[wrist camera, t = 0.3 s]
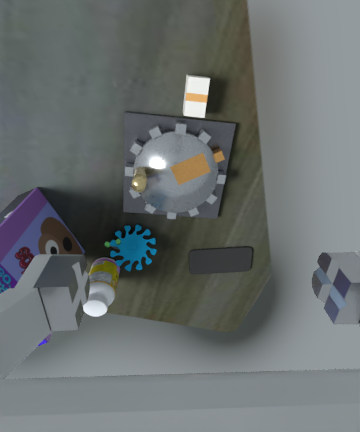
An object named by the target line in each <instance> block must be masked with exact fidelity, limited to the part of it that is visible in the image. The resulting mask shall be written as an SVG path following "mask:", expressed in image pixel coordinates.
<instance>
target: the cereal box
mask: <svg viewBox="0 0 360 432" xmlns="http://www.w3.org/2000/svg"><path fill="white" fill-rule="evenodd" d="M84 252H85V250H84V248H83V247H82V246H81V244H80V243H79V242H78V240H77V239H76V237H75V236H74V235H73V233H72V232H71V231H70V229H69V228H68V227H67V225H66V224H65V223H64V221H63V220H62V219H61V217H60V216H59V215H58V213H57V212H56V211H55V209H54V208H53V207H52V205H51V204H50V202H49V201H48V200H47V198H46V197H45V196H44V194H43V193H42V192H41V190H40V189H39V188H38V187H37V188H35V189H32V190H30V191H28V192H26V193H23V194H21V195H19V196H17V197H16V198H15V199H14V200H13V201H12V202H11V203H10V204H9V205H8V206H7V207H6V208H5V209H4V210H3V211H2V212H1V213H0V294H1V293H2V292H4V291H6V290H7V289H9V288H15V286H16V285H17V283H18V281H19V280H20V278H21V277H22V275H23V274H24V272H25V271H26V269H27V268H28V266H29V265H30V263H31V261H32V260H33V258H34V257H35V256H36V255H38V254H52V255H54V254H72V255H84ZM52 332H53V331H51V333H50V334H49V335H48V336H47V337H46V338H45V339H44V340H43V341H42V342H41V343H40V344H39V345H42V344H44V343H47V342H49V339H50V337H51V334H52ZM39 345H38V346H39Z"/></svg>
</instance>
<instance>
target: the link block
mask: <svg viewBox="0 0 360 432" xmlns="http://www.w3.org/2000/svg"><path fill="white" fill-rule="evenodd" d="M209 83H210V78H208V77H204V76H195V75H187V77H186V86H185V95H184V105H183V114H184V116H191V117H201V118H205V111H206V104H207V97H208V90H209Z"/></svg>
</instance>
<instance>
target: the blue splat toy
mask: <svg viewBox="0 0 360 432" xmlns="http://www.w3.org/2000/svg"><path fill="white" fill-rule="evenodd" d="M141 229H142V227H141V226H139V225H136V226H135V231H134V232H133V233H132V234H131V235H129V234H128V232H129V231H130V230H131V227H130V226H125V230H126V236H125V238H121V235H122V233H121V231H117V232H116V233H115V235H116V236H117V237H118V238H119V239H120V240H119V239H117V240H116V241H115V240H112V241H111V242H110V243H109V242H105V246H106V247H110V246H111V247H112V248H115V249H120V252H119V253H116V252H115V251H111V253H110V255H111V257H115V256H123V257H124V259H123V260H116V261H115V262H116V265H117V266H118V267H119V266H121V265H122V263H123V262H125V261H127V260H130V262H131V263H130V264H129V265H126V266H125V269H126V270H128V271H131V267H132V264H133V263H134V262H135V261H139V264H138V265H137V266H136V269H137V270H142V265H141V259H142V257H146V264H147V265H148V264H150V263H151V262H152V260H151V259H150V258H148V257H147V255H146V251H147V250H150V252H151V254H152V255H155V254H156V251H157V250H156V249H151V248H149V247H148V246H147V245H146V244H147V242H150V243H151V244H153V245H155V243H156V240H155V238H152V239H150V240H146V239H143V236H144V235H146V236H149V235H150V234H151V233H150V231H149V230H148V229H146V230H145V232H144V233H143V234H140V235H137V234H136V232H137V231H140V230H141Z"/></svg>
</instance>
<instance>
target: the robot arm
mask: <svg viewBox="0 0 360 432" xmlns="http://www.w3.org/2000/svg"><path fill="white" fill-rule="evenodd" d="M318 264H319V266H320V267H319V268H318V269H317V270H316V271H314V274H313V278H312V287H313V290H314V293H315V295H316V296H317V298H318V299H320V300H321V301H323V302H324V303H325V306H324V309H325V311H326V313H327V314H328V316H329V317H330V319H331V320H332V322H333V324H359V326H360V251H357V252H328V253H322V254H321V255H320V256H319V259H318ZM86 266H87V262H86V257H85V256H84V255H72V254H54V255H52V254H38V255H36V256H35V257H34V258H33V260H32V261H31V263H30V265H29V266H28V268H27V269H26V271H25V272H24V274H23V275H22V277H21V278H20V280H19V281H18V283H17V285H16V286H15V288H9V289H7V290H6V291H4V292H2V293H1V294H0V432H360V369H333V370H331V369H330V370H300V371H299V370H297V371H263V372H230V373H197V374H165V375H164V374H163V375H129V376H95V377H65V378H64V377H62V378H32V379H31V378H29V379H5V378H6V377H7V376H8V375H9V374H10V373H11V372H12V371H13V370H14V369H15V368H16V367H17V366H18V365H19V364H20V363H21V362H22V361H23V360H24V359H25V358H26V357H27V356H28V355H29V354H30V353H31V352H32V351H33V350H34V349H35V348H36V347H37V346H38V345H39V344H40V343H41V342H42V341H43V340H44V339H45V338H46V337H47V336H48V335H49V334H50V333H51V331H63V330H78V329H79V326H80V323H81V320H82V316H83V313H84V312H83V307H82V306H83V305H84V304H86V303H87V301H88V297H89V291H90V279H89V274H88V273H86V272H85V269H86Z"/></svg>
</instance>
